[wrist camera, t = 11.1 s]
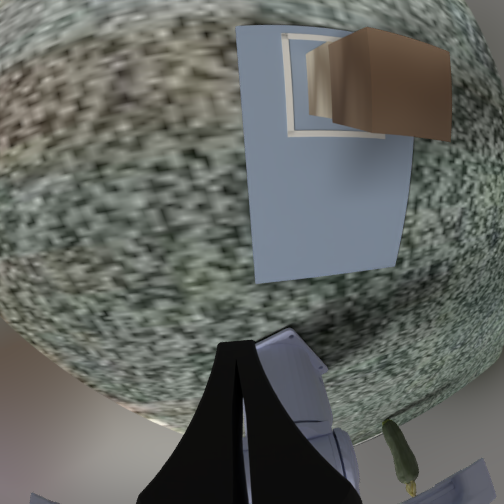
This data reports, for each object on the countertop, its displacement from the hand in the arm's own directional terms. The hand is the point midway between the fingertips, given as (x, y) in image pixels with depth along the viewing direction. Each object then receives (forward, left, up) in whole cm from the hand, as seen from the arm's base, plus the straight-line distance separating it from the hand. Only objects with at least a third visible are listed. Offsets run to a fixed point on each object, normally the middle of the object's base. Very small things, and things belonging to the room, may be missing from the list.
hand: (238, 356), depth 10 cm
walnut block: (+5, -11, -6) cm, 14 cm away
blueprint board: (+1, -9, -10) cm, 14 cm away
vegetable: (-50, -1, -11) cm, 51 cm away
